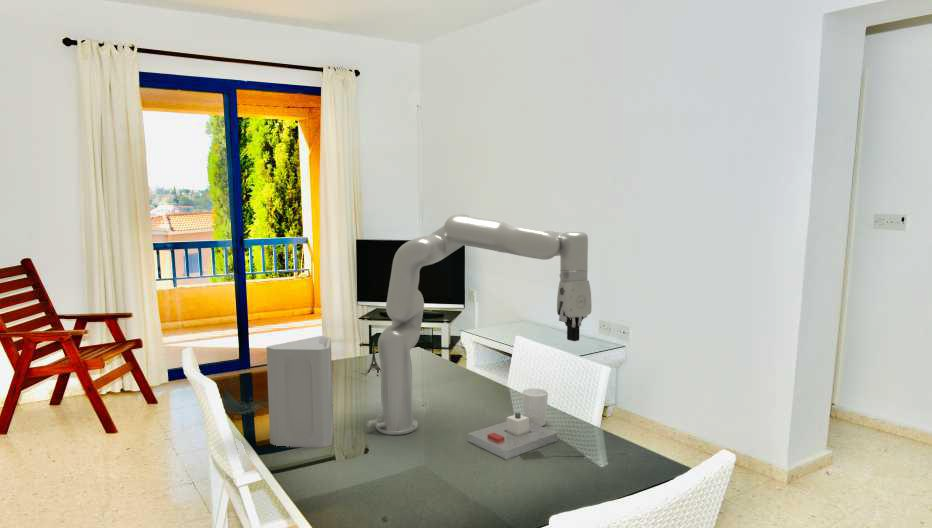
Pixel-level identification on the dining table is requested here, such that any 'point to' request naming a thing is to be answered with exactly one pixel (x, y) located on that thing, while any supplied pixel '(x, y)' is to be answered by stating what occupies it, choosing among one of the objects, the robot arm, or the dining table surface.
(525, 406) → the white cup
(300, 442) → the paper bag
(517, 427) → the plug
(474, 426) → the dining table surface
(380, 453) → the dining table surface
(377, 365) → the eiffel tower figurine
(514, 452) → the socket plate
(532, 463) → the dining table surface
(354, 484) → the dining table surface
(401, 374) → the robot arm
